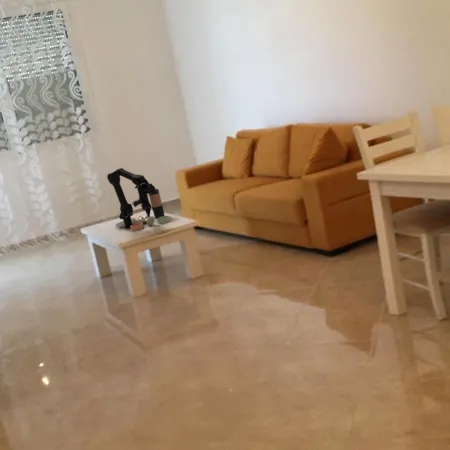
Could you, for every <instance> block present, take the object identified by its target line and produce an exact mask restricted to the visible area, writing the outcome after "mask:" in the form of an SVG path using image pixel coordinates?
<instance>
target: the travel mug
mask: <svg viewBox="0 0 450 450" xmlns="http://www.w3.org/2000/svg"><path fill="white" fill-rule="evenodd" d="M148 198H149V202H150V204H151V210H152V212H153V216H154V219H156V220H157V219H158V218H160V217H163V216H166V215H165V212H164V206H163V202H162V198H161V194H160V190H159V188H155V192H154V193H153V194H148Z"/></svg>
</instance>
